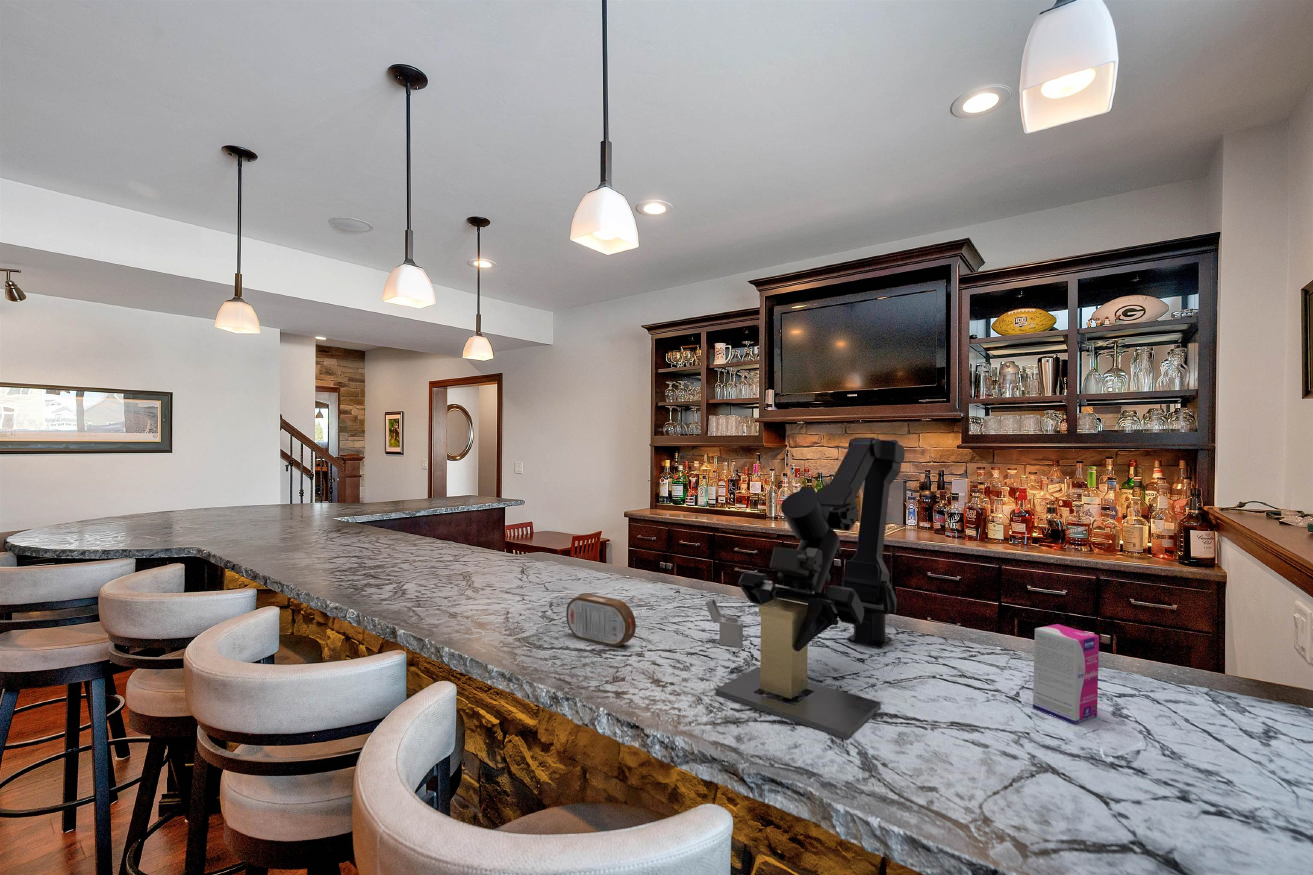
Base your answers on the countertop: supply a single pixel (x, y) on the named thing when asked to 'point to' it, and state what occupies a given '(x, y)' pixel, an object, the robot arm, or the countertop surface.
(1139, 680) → the countertop surface
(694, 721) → the countertop surface
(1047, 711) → the supplement box
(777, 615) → the tan square peg
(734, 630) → the lighter
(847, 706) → the grey plate with hole
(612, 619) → the tin
